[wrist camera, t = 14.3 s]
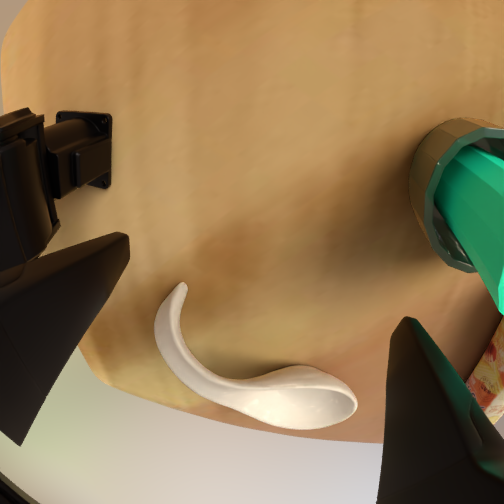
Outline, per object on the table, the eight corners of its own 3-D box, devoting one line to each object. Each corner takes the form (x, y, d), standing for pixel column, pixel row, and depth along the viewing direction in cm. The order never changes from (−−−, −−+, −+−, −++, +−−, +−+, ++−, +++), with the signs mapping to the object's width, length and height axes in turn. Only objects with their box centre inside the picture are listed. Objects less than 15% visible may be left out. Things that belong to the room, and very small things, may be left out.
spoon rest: (377, 383, 30) (378, 438, 24) (304, 415, 36) (297, 462, 30) (200, 255, 25) (163, 312, 19) (149, 318, 32) (118, 366, 26)
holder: (388, 220, 20) (399, 249, 17) (433, 94, 15) (457, 98, 11) (483, 256, 19) (502, 286, 16) (530, 152, 14) (560, 170, 11)
